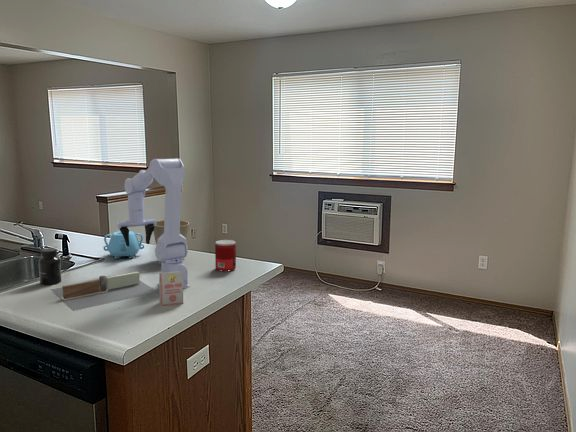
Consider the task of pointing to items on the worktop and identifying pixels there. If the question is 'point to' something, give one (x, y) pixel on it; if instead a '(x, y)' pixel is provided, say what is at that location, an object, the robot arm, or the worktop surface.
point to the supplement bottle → (49, 267)
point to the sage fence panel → (122, 280)
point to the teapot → (123, 244)
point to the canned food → (225, 255)
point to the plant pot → (160, 229)
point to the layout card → (105, 296)
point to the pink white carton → (171, 288)
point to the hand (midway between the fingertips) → (137, 244)
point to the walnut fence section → (84, 288)
